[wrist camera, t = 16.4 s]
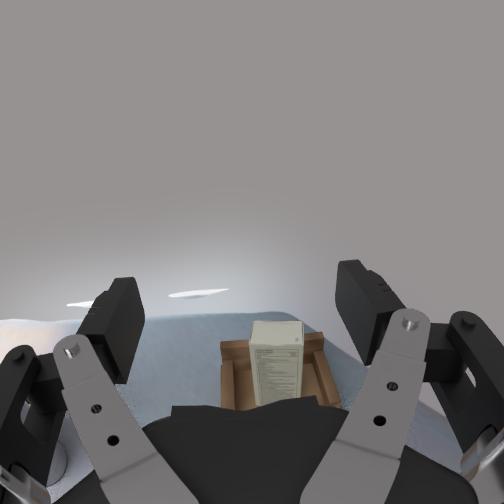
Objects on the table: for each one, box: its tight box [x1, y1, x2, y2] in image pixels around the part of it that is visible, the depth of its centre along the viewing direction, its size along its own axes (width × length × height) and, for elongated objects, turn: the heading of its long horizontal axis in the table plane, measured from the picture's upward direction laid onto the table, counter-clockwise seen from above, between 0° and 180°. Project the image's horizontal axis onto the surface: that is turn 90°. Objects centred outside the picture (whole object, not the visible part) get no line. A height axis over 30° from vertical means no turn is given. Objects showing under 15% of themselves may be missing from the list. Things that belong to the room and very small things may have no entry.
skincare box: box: [249, 321, 304, 406], centre depth 37 cm, size 6×4×12 cm
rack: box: [220, 332, 341, 411], centre depth 39 cm, size 16×14×6 cm
